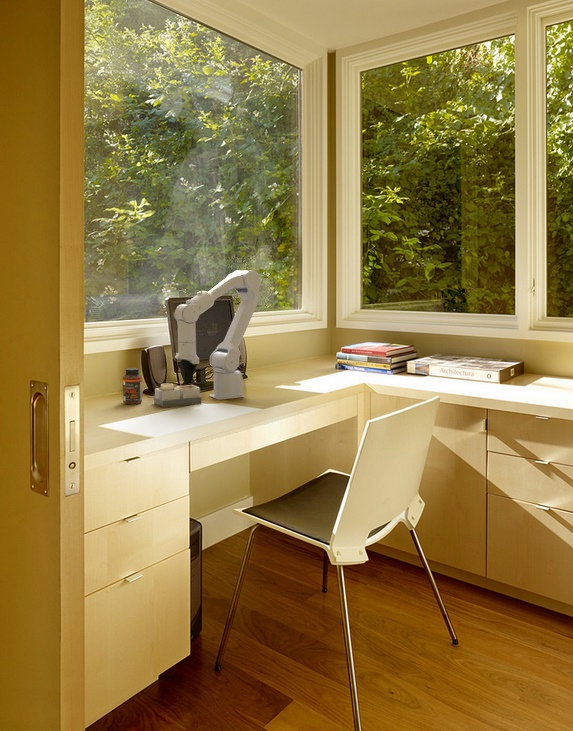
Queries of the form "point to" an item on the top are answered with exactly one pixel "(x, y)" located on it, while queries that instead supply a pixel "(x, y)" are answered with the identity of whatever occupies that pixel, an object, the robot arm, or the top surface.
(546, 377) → the top surface
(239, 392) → the robot arm
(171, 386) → the cream knob
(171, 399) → the knob mount
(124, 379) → the supplement bottle
